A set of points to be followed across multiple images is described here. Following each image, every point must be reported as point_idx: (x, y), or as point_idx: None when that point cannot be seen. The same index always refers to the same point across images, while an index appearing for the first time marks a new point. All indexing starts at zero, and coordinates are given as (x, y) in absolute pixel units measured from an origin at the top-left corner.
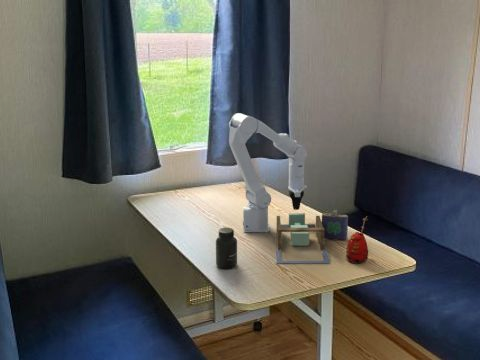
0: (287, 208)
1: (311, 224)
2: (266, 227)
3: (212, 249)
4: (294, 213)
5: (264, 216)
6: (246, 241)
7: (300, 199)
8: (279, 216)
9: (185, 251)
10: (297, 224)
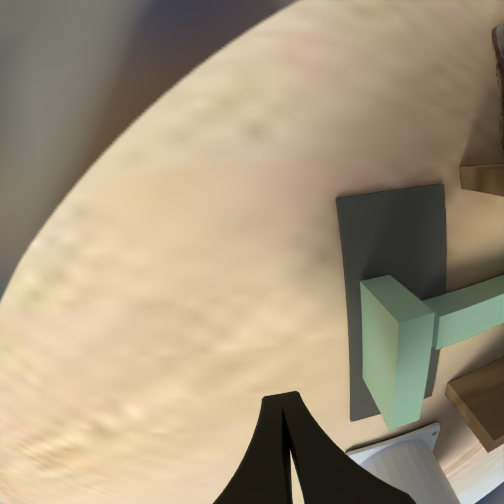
0: (55, 395)
1: (343, 226)
2: (420, 445)
3: (500, 467)
4: (395, 398)
5: (450, 488)
6: None
7: (356, 469)
8: (500, 438)
9: (488, 492)
10: (462, 325)
